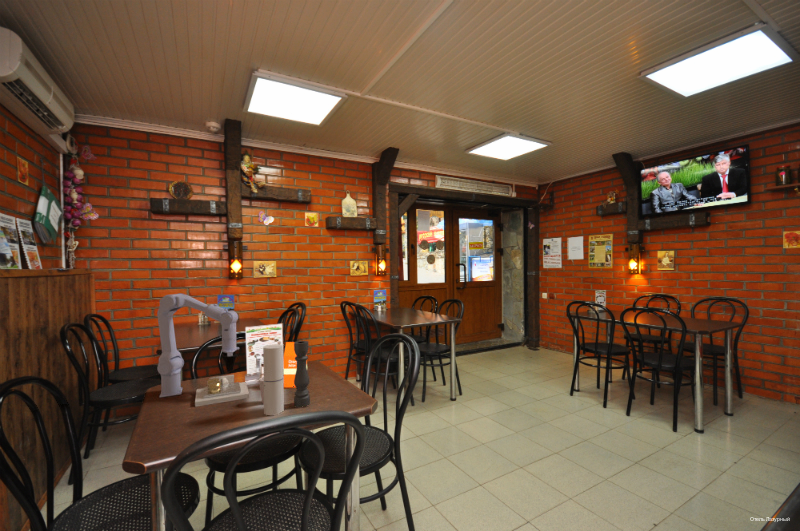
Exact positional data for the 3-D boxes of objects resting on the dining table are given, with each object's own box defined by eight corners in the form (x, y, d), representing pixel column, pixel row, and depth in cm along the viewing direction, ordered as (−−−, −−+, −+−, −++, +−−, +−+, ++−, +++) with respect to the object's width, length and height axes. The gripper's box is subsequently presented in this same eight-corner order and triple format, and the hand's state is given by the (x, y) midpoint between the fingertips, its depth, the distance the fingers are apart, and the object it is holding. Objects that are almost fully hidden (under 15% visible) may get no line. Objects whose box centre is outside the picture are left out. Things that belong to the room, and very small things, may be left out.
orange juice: (302, 387, 166) (302, 343, 166) (283, 387, 166) (283, 343, 166) (307, 381, 174) (306, 340, 174) (289, 382, 174) (288, 340, 174)
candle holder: (295, 402, 147) (294, 340, 148) (311, 401, 148) (310, 340, 148) (292, 408, 141) (291, 344, 141) (308, 407, 142) (307, 343, 142)
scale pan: (204, 389, 159) (204, 387, 159) (239, 384, 165) (239, 382, 165) (203, 398, 148) (203, 395, 148) (240, 392, 154) (240, 389, 154)
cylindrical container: (272, 417, 133) (271, 349, 133) (260, 413, 137) (259, 347, 137) (287, 410, 139) (287, 345, 139) (275, 406, 143) (274, 343, 143)
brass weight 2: (209, 395, 149) (209, 385, 149) (208, 392, 152) (208, 382, 152) (221, 392, 151) (221, 383, 151) (219, 389, 155) (219, 380, 155)
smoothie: (269, 405, 144) (269, 370, 144) (255, 404, 145) (254, 369, 146) (278, 399, 150) (277, 366, 151) (264, 398, 152) (264, 365, 152)
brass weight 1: (207, 388, 157) (207, 379, 157) (218, 386, 159) (218, 377, 159) (207, 391, 153) (207, 382, 153) (219, 389, 155) (219, 380, 155)
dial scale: (196, 393, 160) (196, 379, 160) (245, 385, 169) (245, 372, 169) (195, 406, 144) (194, 391, 144) (249, 397, 153) (249, 383, 153)
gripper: (240, 340, 155) (240, 372, 155) (238, 335, 168) (238, 364, 168) (221, 342, 152) (222, 374, 152) (221, 336, 165) (221, 366, 165)
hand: (229, 369), depth 160 cm, fingers open, 7 cm apart
